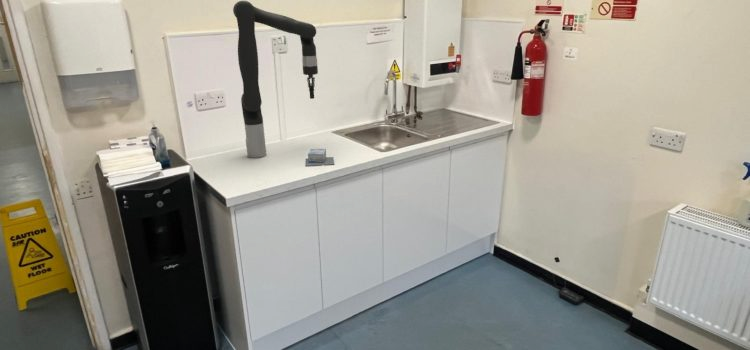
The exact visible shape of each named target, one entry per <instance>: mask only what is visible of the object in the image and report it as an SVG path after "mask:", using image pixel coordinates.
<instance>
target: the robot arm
mask: <svg viewBox="0 0 750 350" xmlns="http://www.w3.org/2000/svg"><path fill="white" fill-rule="evenodd" d="M232 10H233V15H234V17H235V18H236V21H237V22H236V23H237V29H238V39H237V59H238V67H239V72H240V76H241V79H242V87H243V88H242V90H243V92H242V95H241V99H240V103H241V110H242V118H243V124H244V130H245V145H246V154H247V158H253V159H258V158H264V157H265V156H267V147H266V137H265V129H264V117H263V115H262V107H261V106H262V104H263V103H262V96H261V91H260V86H259V85H260V84H259V73H260V72H259V53H258V45H257V37H256V30H255V29H256V28H255V27H256V26H255V23H258V24H260V25H265V26H268V27H271V28H273V29H276V30H279V31H282V32H286V33H288V34H293V35H296V36H299V38H300V39H299V40H300V43H301V55H302V57H301V61H302V74H303V75H304V76H307V77H306V81H307V88H308V91H309V92H308V93H309V99H310V100H311V99H312V100H313V99H315V86H316V85H315V83H316V77H315V76H314V75H318V74H319V69H318V57H317V47H316V44H315V41H314V38H315V37H316V35H317V28H316V27H315V26H314V24H312V23H308V22H304V21H301V20H297V19H294V18H292V17H289V16H285V15H282V14H278V13H275V12H272V11H271V12H270V11H266V10H264V9H261V8H258V7H256V6H254V5H253V4H252V3H251V2H249V1H247V0H240V1H237V2H235V4H234V6H233V8H232Z"/></svg>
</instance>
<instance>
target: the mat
mask: <svg viewBox="0 0 750 350" xmlns="http://www.w3.org/2000/svg"><path fill="white" fill-rule="evenodd" d="M334 158H335V157H334V156H329V157H327V156H326V159H325V161H324V162H308V157H306V158H305V163H304V165H305V167H318V166H319V167H321V166H322V165H324V166H335V160H334Z"/></svg>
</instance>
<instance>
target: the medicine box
mask: <svg viewBox="0 0 750 350" xmlns="http://www.w3.org/2000/svg"><path fill="white" fill-rule="evenodd" d="M326 157H327V150H326V148H310V149H309V152H308V153H307V158H308V162H324V161H325V159H326Z"/></svg>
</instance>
